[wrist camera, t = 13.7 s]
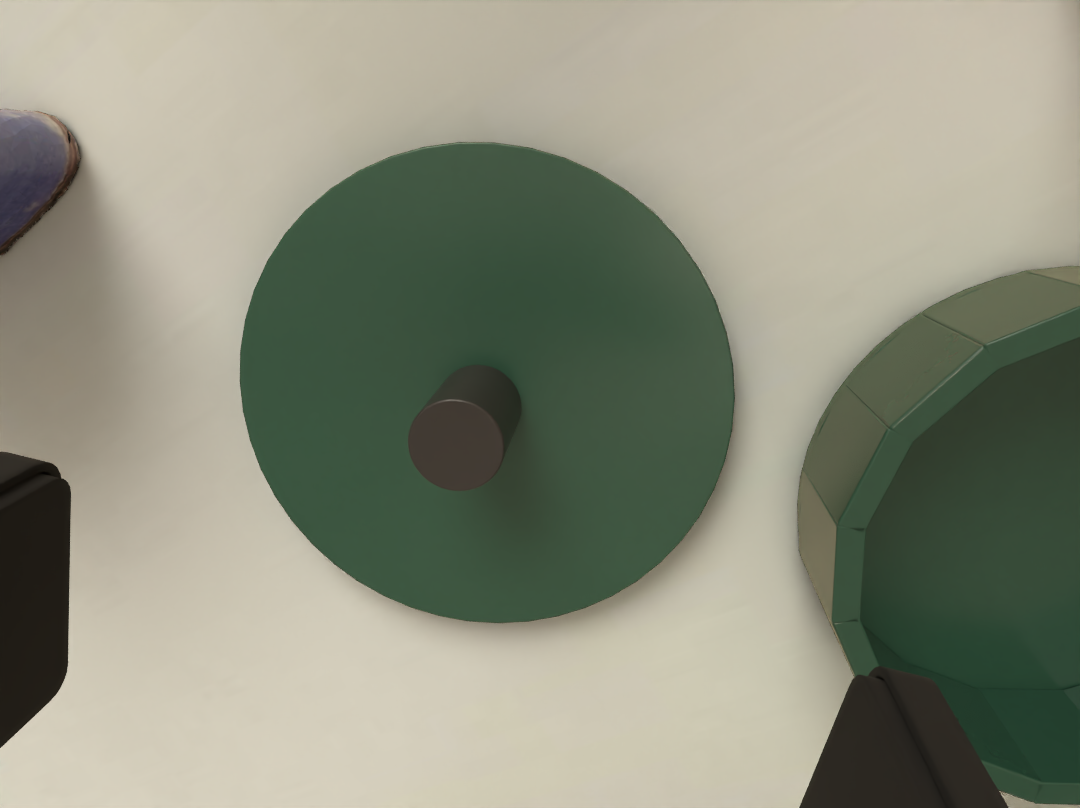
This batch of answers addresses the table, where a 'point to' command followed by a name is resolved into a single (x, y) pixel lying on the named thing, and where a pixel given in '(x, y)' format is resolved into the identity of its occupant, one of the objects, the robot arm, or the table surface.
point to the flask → (31, 169)
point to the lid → (487, 382)
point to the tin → (964, 519)
